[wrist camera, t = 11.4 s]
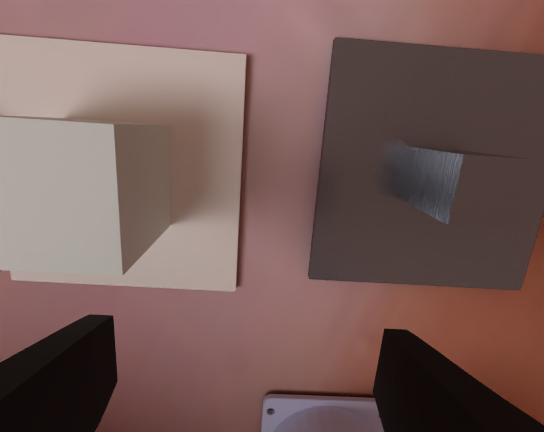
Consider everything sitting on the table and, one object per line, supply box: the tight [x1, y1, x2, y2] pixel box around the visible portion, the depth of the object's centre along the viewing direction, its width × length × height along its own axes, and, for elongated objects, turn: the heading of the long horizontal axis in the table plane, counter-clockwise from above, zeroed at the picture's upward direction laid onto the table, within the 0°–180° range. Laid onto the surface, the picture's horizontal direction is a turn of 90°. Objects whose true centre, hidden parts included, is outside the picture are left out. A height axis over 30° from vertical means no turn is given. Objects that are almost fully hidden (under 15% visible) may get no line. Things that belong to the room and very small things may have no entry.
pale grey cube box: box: [0, 115, 171, 276], centre depth 13 cm, size 5×5×6 cm
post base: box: [308, 37, 544, 290], centre depth 15 cm, size 12×12×4 cm
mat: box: [0, 34, 247, 292], centre depth 16 cm, size 12×12×1 cm
